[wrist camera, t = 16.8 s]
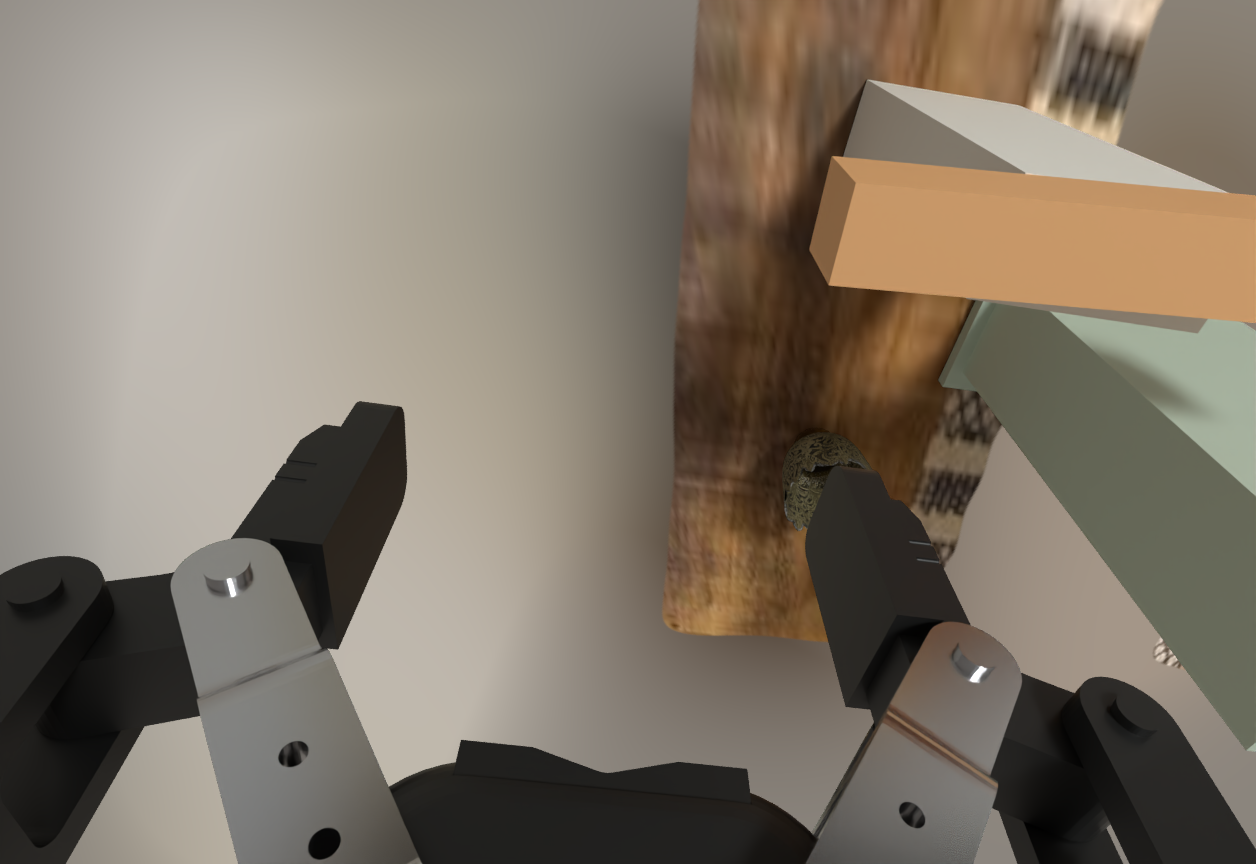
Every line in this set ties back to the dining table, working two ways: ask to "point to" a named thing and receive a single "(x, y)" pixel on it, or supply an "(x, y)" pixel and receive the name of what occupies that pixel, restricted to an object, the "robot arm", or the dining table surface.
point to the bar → (1037, 239)
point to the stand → (1142, 466)
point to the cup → (814, 470)
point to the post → (1003, 156)
